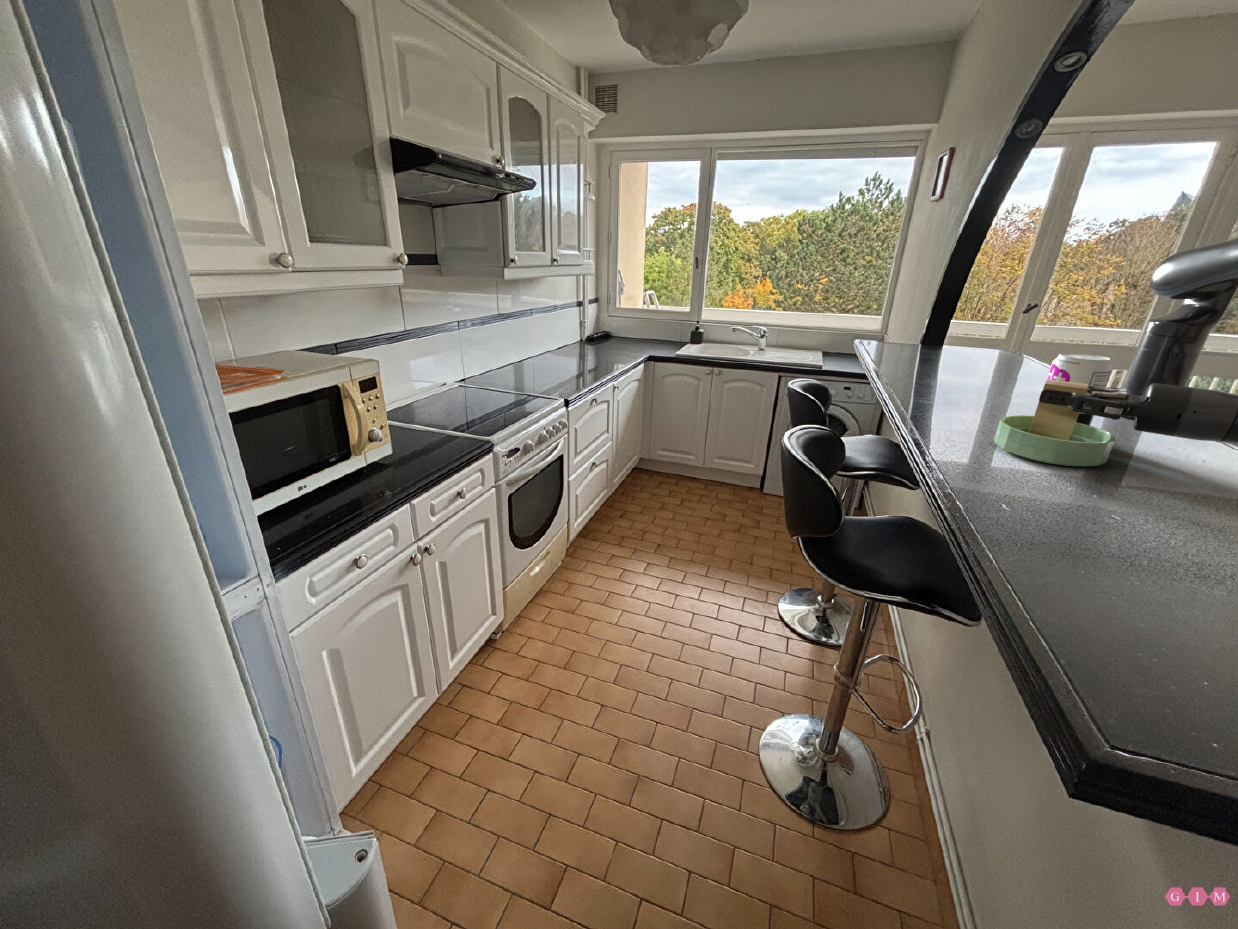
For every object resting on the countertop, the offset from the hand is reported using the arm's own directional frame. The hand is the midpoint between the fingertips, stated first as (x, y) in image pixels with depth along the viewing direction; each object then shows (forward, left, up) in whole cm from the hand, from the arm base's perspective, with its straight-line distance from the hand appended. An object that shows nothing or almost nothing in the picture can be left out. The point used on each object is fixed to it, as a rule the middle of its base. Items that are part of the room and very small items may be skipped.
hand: (1042, 392), depth 87 cm
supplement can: (-11, +7, -10) cm, 16 cm away
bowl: (+2, +3, -10) cm, 10 cm away
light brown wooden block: (+1, +3, -9) cm, 9 cm away
